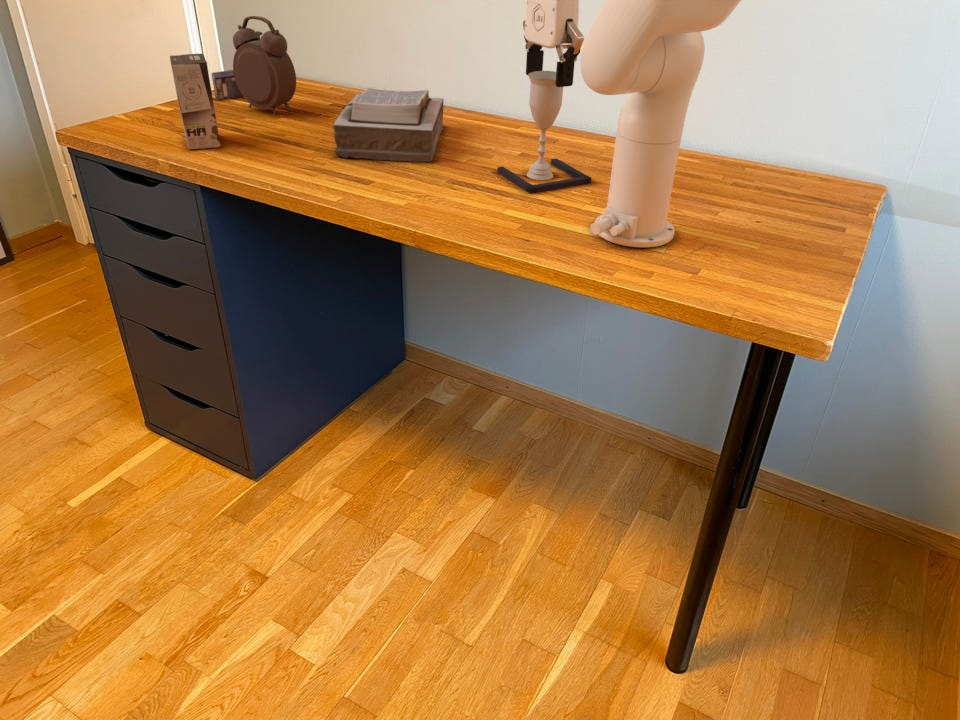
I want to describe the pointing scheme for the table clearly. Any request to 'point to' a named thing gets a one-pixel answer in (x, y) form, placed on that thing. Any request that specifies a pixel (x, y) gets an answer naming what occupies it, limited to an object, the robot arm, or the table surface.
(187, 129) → the coffee box
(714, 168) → the table surface
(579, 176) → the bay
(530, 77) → the chalice
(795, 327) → the table surface
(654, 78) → the robot arm
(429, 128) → the bible
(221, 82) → the mini dv tape
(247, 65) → the alarm clock
